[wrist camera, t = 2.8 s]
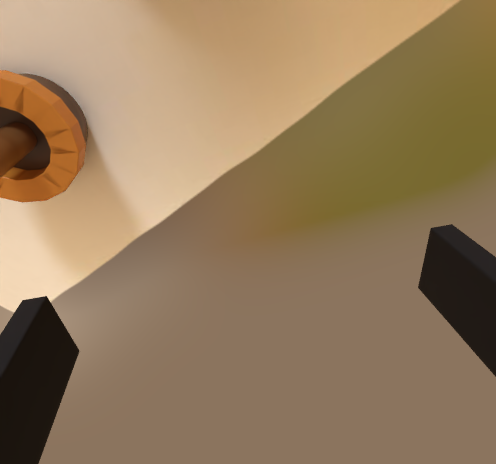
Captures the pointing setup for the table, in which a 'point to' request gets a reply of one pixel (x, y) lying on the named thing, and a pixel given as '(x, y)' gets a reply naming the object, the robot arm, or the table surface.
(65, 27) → the table surface
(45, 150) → the ring post
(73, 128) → the ring
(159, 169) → the table surface
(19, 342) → the robot arm
